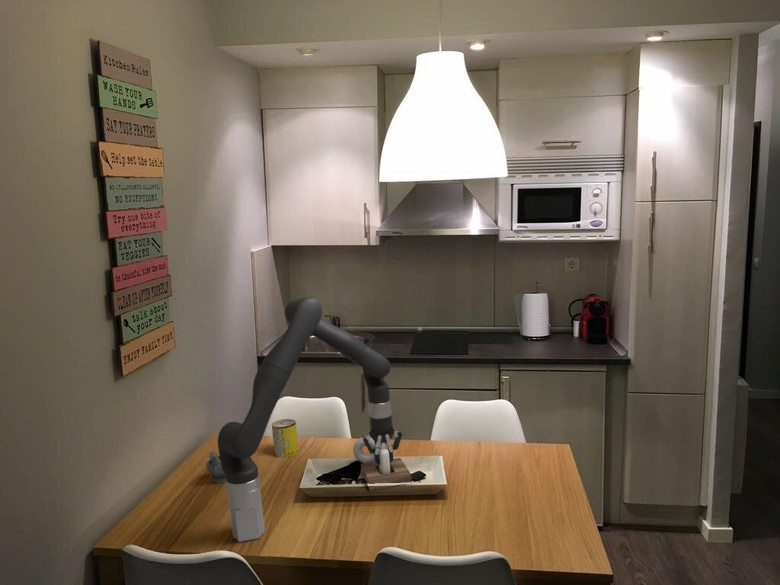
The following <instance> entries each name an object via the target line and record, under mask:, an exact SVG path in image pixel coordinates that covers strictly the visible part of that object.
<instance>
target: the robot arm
mask: <svg viewBox="0 0 780 585" xmlns="http://www.w3.org/2000/svg"><path fill="white" fill-rule="evenodd" d="M322 316H323V307H322V304H321V302H320V301H319V300H318V299H316V298H315V297H299V298H295V299H291V301H289V302H288V303H287V304H286V306H285V308H284V317H285V319H286V321H287V323H288V324H289V325H288V327H287V329H286V331H285V333H284V334H283V336H282V337H281V338H280V339H279V341H277V343H276V344H275V345H274V346H273V347H272V348H271V350H270V351H269V352H268V353H267V354H266V356H265V358H263V360H262V362H261V363H260V365H259V368H258V370H257V372H256V374H255V375H254V379H253V385H252V397H251V398H252V399H251V405H250V407H249V410H248V412H247V414H246V416H245V419H244V420H243V422H242V423H241V422H237V421H230V422H227V423H226V424H224V425H223V426H222V427H221V429H220V430H219V433H218V435H217V447H218V448H217V450H218V456H220V461H221V467H222V470H223V472H224V474H225V477H226V482H225V483H226V492H227V499H228V500H227V501H228V508H229V515H230V523H231V524H230V525H231V531H232V532H231V533H232V537H233V539H235V540H236V541H237V542H238V543H241V542H246V541H251V540H255V539H261V536H262V535H264V533H265V531H266V529H265V520H264V514H263V513H264V511H263V503H262V502H263V501H262V496H261V494H262V493H261V485H260V484H261V483H260V476H259V469H258V466H257V464H256V463H255V461H254V460H253V459H252V456H253V455H254V454H255V453H256V452H257V451H258V449H259V447H260V444H261V442H262V439H263V436H264V434H265V432H266V429H267V426H268V424H269V421H270V419H271V416H272V414H273V413H274V410H275V407H276V405H277V403H278V400H279V399H280V397H281V395H282V393H283V391H284V389H285V388H286V386H287V384H288V382H289V380H290V378H291V375H292V373H293V371H294V369H295V367H296V365H297V363H298V361H299V359H300V356H301V354H302V353H303V350H304V349H305V346H306V344H307V343H308V341H309V339H310V337H311V336H313V337H314V338H316V339H318V340H320V341H321V342H323V343H325V345H328V346H330V347H331V348H333V349H334V350H335V351H336V352H338V353H339V354H340V355H342V356H343V357H345V358H346V359H348V360H349V361H351V362H352V363H354V364H356V365H359V366H360V367H361V368H362V372H363V377H364V380H365V384H366V387H367V395H368V396H367V398H368V399H367V400H368V419H369V429H370V430H369V433H368V434H367V435H362V436H361V437H362V439H363V441H364V443H365V445H366V446H365V447H366V448H367V450H368V452H369V454H370V453H371V454H372V453H373V454H374V458H375V462H376V463H377V464H378V465H380V457H379V448H380V444H382V443H384V442H385V443H386V445H387V448H388V450H389V461H390V463H392V461H393V459H394V451H396V450H398V449H399V446H400V444H401V440H402V436H403V432H402V431H401V430H395V429H394V426H393V415H392V414H393V413H392V404H391V397H390V396H391V395H390V387H389V385H388V383H387V382H386V381H385V377H387V376H388V375H389V374H390V372H391V364H390V361H389V359H387V358H386V357H385V356H383V354H380V353H379V352H378V351H375V350H374V349H372V348H371V347H369V346H368V345H367V344H365V343H364V342H363V341H361V339H359V338H358V337H357V336H355V335H354V334H351V333H350V332H348V331H347V330H344V329H342V328H340V327H338V326H336V325H334V324H332V323H330V322H329V321H327V320H325V319H324V318H323V317H322ZM393 436H394V437H395V438H394V440H393V444H392V442H391V440H392V438H393ZM370 438H372V439H373V440H374V449H373V448H371V446H370V444H369V442H370Z"/></svg>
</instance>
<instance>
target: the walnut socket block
mask: <svg viewBox="0 0 780 585" xmlns="http://www.w3.org/2000/svg"><path fill="white" fill-rule="evenodd" d="M360 471H361V472H360V473H361V476H362V477H363V480H364V479H365V480H366V481H367V482H368V483H369V484H375V483H401V482H411V483H412V474H411V472H410V470H409V469H408V467H407V466H406V464H405V462H404V461H403V460H402V458H401V457H396V458H393V461H392V463H390V473H388V474H382V473H380V469H379V465H378V464H377V463H376V462H372V463H366V464H365V463H361V464H360ZM365 480H364V481H365Z"/></svg>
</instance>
